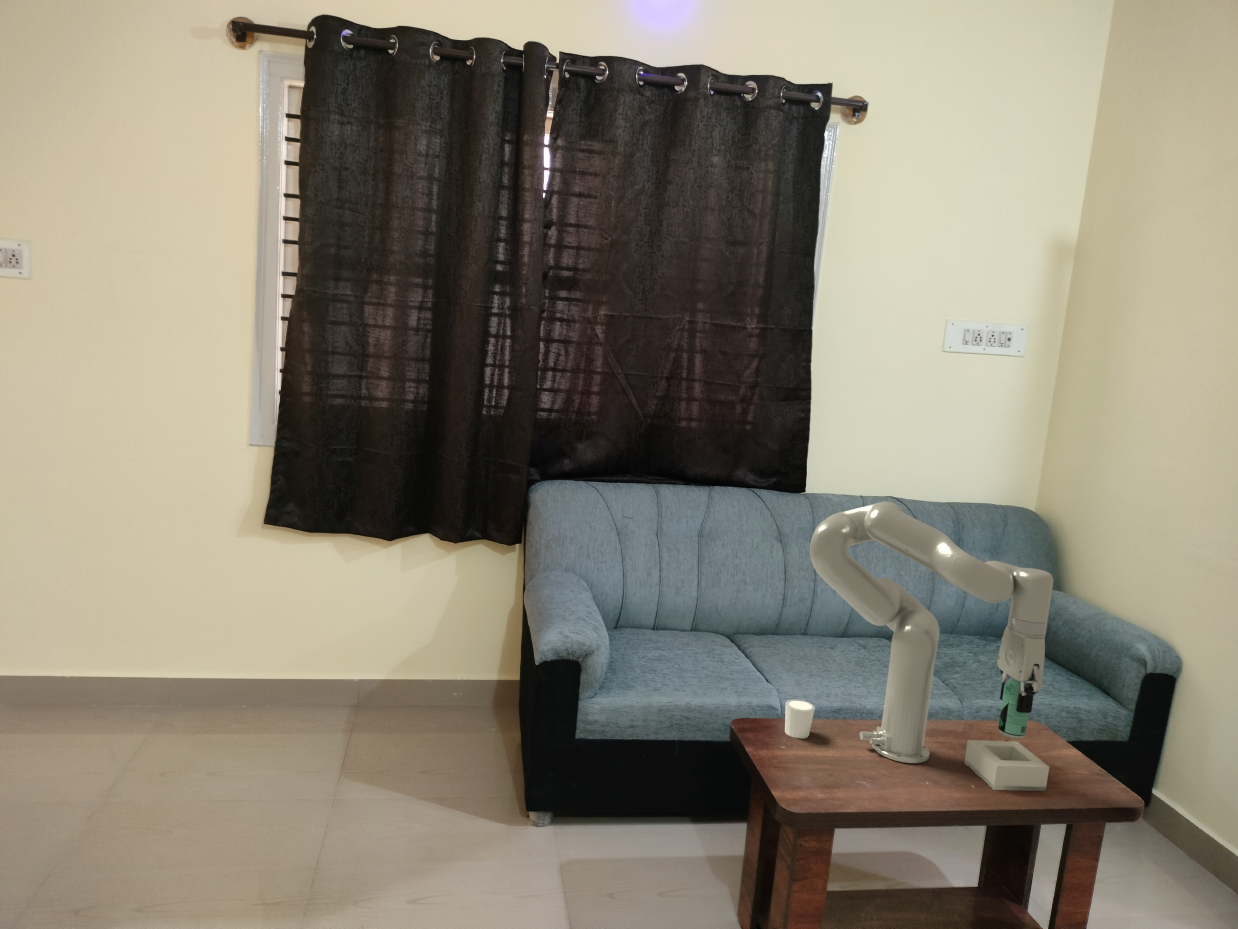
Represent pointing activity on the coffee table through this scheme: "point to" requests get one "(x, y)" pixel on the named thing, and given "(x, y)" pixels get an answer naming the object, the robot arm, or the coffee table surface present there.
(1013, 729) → the spray can
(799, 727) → the white cup
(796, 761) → the coffee table surface
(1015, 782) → the can holder
